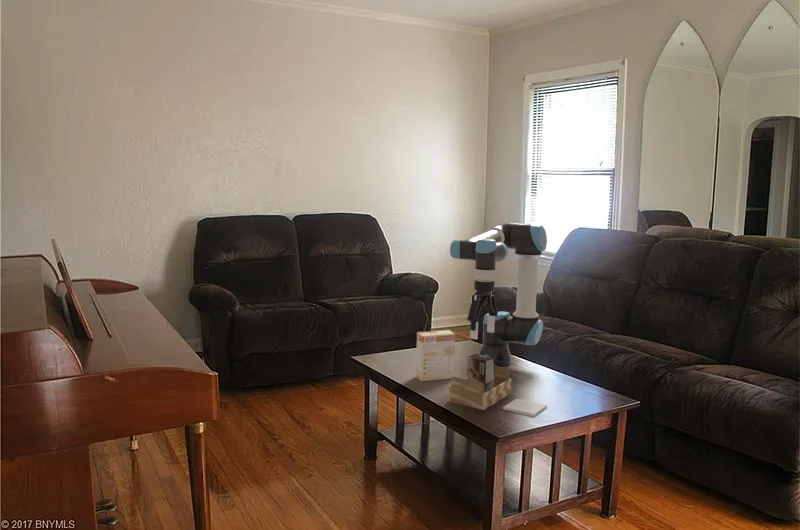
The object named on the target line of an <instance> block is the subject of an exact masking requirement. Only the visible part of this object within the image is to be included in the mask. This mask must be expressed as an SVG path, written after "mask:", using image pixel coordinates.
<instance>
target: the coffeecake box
mask: <svg viewBox="0 0 800 530" xmlns="http://www.w3.org/2000/svg"><path fill="white" fill-rule="evenodd" d="M455 350H456V333H454V332H453V331H451V330H449V329H448V330H433V331H417V332H416V359H415V360H416V364H415V365H416V366H415V377H416V378H417V379H418V380H419V381H420V382H425V381H429V382H430V381H437V380H438V381H439V380H440V381H441V380H451V376H454V377H455V357H456V356H455V355H456V354H455V353H456V351H455Z"/></svg>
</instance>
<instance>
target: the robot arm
mask: <svg viewBox="0 0 800 530" xmlns="http://www.w3.org/2000/svg"><path fill="white" fill-rule="evenodd" d="M547 239H548V237H547V232H546V230H545V228H544V226H543V225H541V224H537V223H530V222H529V223H525V222H523V223H521V222H520V223H519V222H504V223H499V224H496V225H493V226H491V227H488V228H487V229H486V230H485V231H484V232H483V233H479V234H477V235H475V236H473V237H469V238H467V239H463V240H461V239H459V240H458V239H455V240H452V242H451V243H450V246H449V253H450V256H451V258H453V259H455V260H464V261H465V260H466V261H467V260H469V261H475V264H474V265H475V267H474V268H475V269H474V279H475V280H474V286H473V287H474V289H473V290H475V292H477V294H472V299H471V304H470V307H469V312H468V316H467V321H468V322H470V330H469V331H470V333H469V334H470V335H469V336H470V337H469V339H472V340H478V338H479V337H478V334H479V321H478V319H479V317H480V315H481V312H482V309H483V308H484V307H485V308H486V311H487V313H486V314H485V315H484V316H483V322H482V324H483V325H482V328H483V329H482V345H481V349H480V351H479V353H478V354H480V355H486V354H487V355H488V356H490V357H492V358H495V366H499V367H505V366H509V365H511V364H512V356H511V352H510V348H509V343H514V344H521V345H525V346H526V345H528V346H536V345H537V344H538V343H539V342H540V339H541V337H542V333H543V328H544V322H543V320H542V319H539V318H540V317H539V316H540V314H539V313H538V312H537V311H536V309H537V289H538V288H537V287H538V284H537V283H538V267H539V265H538V263H539V258H540V257H541V256H543V255H542V253H543V252H544V251H546V249H547V244H548V240H547ZM508 249H511V250H514V255H515V256H516V257H517V280H516V281H517V282H516V286H517V287H516V304H515V306H516V307H515V311H514V312H513V313H512V315H511V314H510V312H509V311H499V310H498V303H497V300H496V299H497V298H496V291H495V286H496V285H495V284H496V283H495V281H494V280H495V279H496V278H495V277H496V263H500V262H502V261H503V260H505V259H506V258H507V257H508V254H509V250H508Z"/></svg>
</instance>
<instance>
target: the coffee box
mask: <svg viewBox="0 0 800 530" xmlns="http://www.w3.org/2000/svg"><path fill="white" fill-rule="evenodd" d="M466 367H467V371H466V373H467V374H466V377H467V380H472V381H477V382H481V383H483V385H482V393H485V392H487V391H489V390H491V389H492V388H494V375H495V358H492V357H488V356H484V355H480V354H479V353H475V354H471V355H469V356H467V366H466Z"/></svg>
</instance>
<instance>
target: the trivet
mask: <svg viewBox="0 0 800 530" xmlns="http://www.w3.org/2000/svg"><path fill="white" fill-rule="evenodd" d="M547 408H548V404H545V403H544V404H543V403H540V402H536V401H532V400H527V399H523V398H516V399H513V400H512V401H511V402H509V403H507V404H505V405H504V406H503V409H502V410H504V411H506V412H507V411H509V412H513V413H516V414H521V415H525V416H527V417H528V416H530V417H533V418H535V417H536V416H537V415H539V414H541V413H542V412H543V411H544V410H546V409H547Z"/></svg>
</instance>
